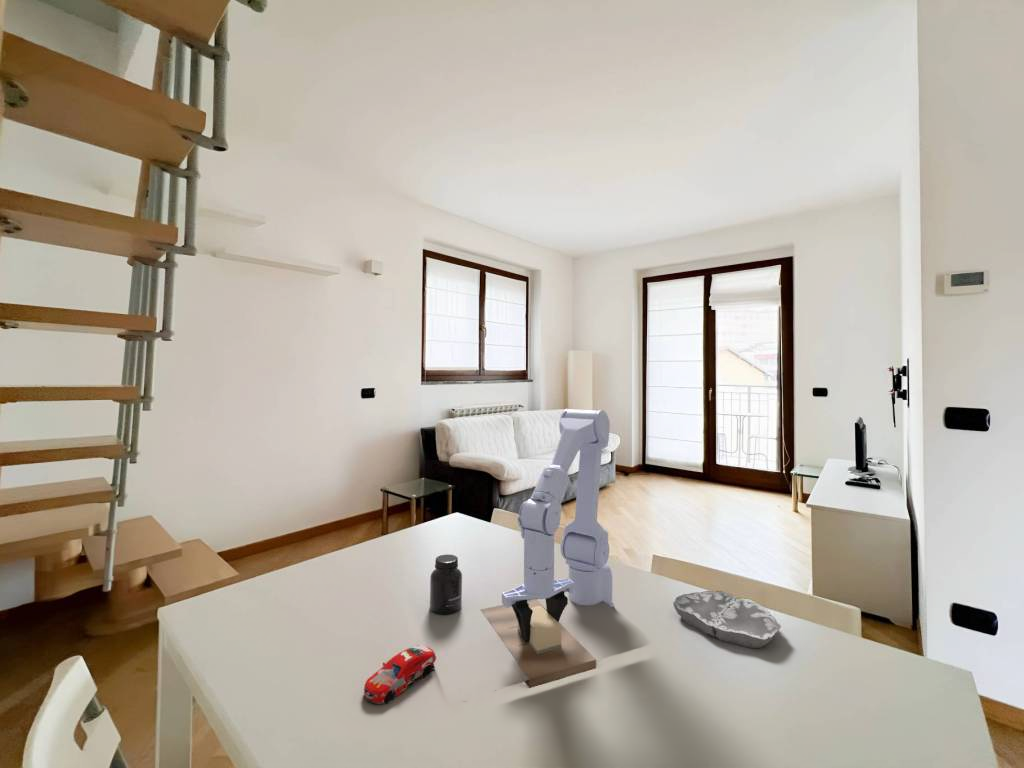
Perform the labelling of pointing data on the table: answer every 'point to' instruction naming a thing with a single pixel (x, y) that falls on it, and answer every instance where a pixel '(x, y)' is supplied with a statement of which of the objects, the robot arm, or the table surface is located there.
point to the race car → (399, 674)
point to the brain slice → (728, 617)
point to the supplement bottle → (446, 586)
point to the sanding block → (543, 631)
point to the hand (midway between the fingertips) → (538, 635)
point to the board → (541, 665)
